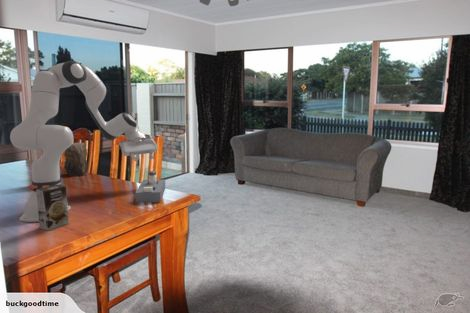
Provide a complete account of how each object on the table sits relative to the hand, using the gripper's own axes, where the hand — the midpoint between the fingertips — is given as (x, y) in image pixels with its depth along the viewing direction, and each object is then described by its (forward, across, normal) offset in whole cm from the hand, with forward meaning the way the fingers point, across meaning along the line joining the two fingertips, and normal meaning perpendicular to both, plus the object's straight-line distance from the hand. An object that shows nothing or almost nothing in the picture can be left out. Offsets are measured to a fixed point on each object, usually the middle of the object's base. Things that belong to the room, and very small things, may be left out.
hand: (144, 159), depth 196 cm
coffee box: (+31, -54, -8) cm, 63 cm away
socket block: (+21, -3, +2) cm, 22 cm away
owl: (-29, -19, +53) cm, 63 cm away
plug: (+18, 0, +6) cm, 19 cm away
